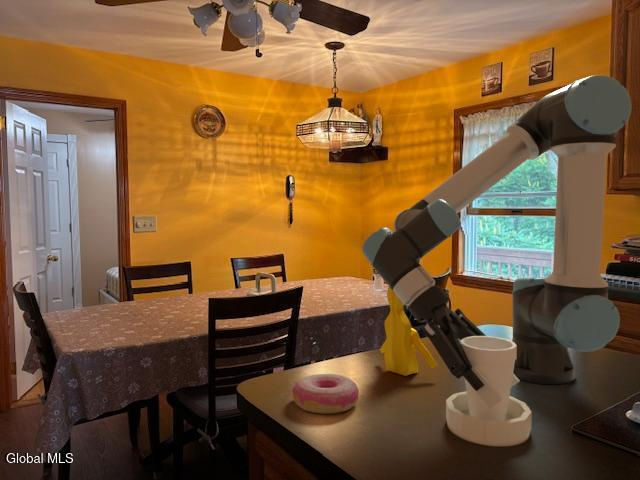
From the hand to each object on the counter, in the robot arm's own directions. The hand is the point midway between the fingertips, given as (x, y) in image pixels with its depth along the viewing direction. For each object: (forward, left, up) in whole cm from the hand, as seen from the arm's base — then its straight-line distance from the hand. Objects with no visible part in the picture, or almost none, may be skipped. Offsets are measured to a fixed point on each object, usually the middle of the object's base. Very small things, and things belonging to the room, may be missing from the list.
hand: (505, 394), depth 83 cm
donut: (+33, -9, -7) cm, 35 cm away
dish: (+3, -2, -7) cm, 7 cm away
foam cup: (+3, -2, -5) cm, 6 cm away
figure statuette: (+17, -30, -7) cm, 35 cm away
